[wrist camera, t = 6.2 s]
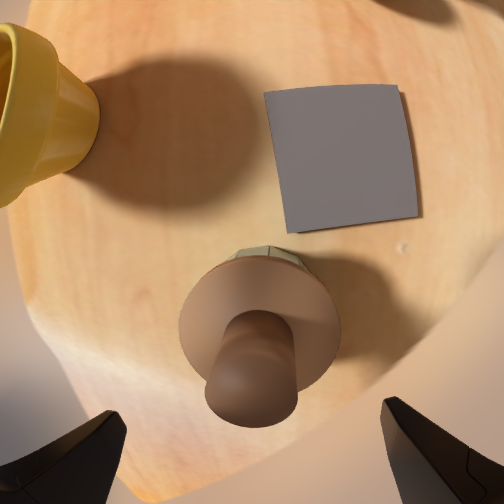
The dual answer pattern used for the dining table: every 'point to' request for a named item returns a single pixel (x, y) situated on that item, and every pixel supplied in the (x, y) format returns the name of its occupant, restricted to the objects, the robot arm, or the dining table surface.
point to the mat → (342, 155)
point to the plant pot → (39, 113)
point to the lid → (258, 337)
